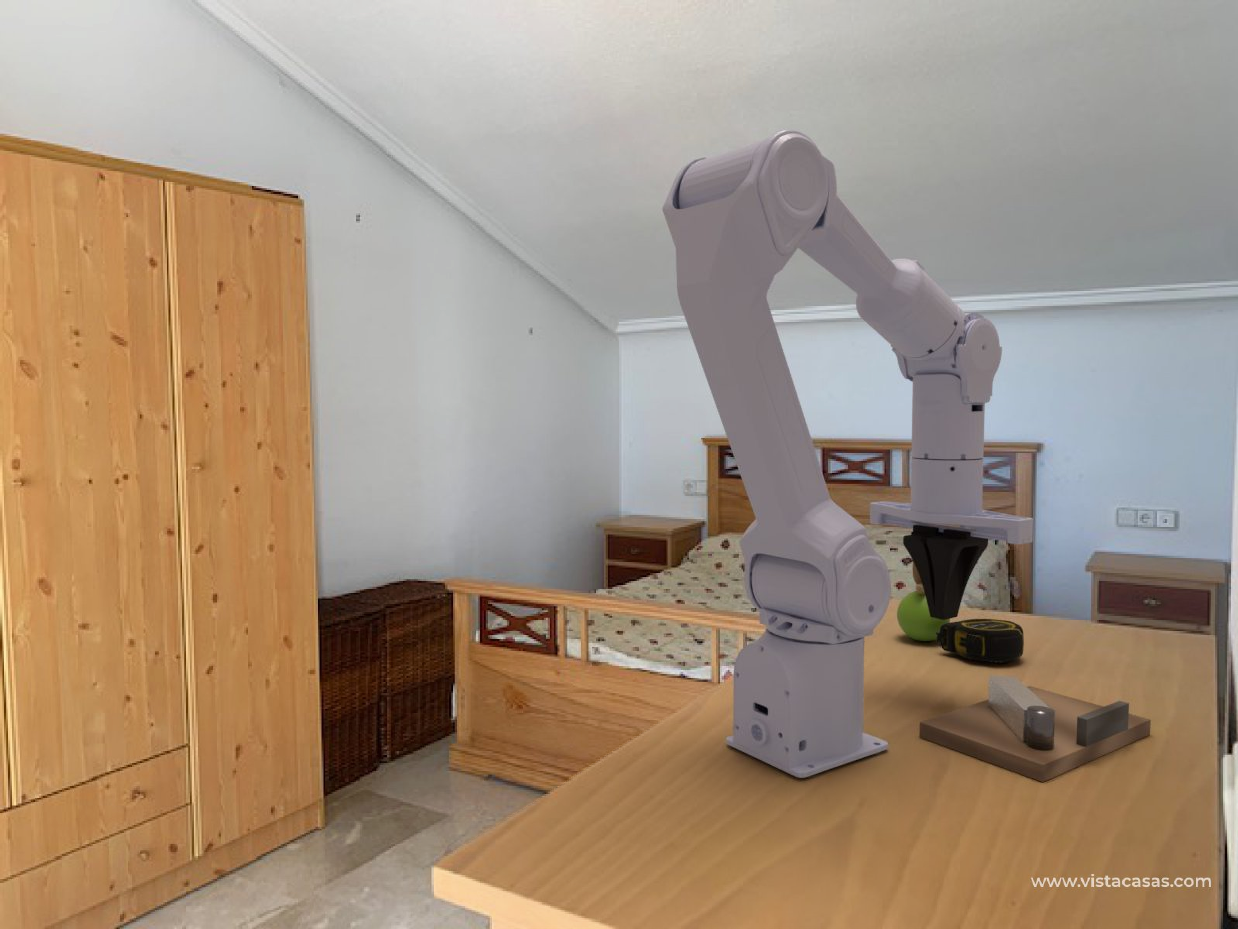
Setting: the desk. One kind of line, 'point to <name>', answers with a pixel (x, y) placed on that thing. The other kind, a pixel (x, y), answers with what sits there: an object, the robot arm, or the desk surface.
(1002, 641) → the tape measure
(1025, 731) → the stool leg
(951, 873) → the desk surface
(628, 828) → the desk surface
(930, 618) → the snail figurine
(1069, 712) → the walnut board
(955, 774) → the desk surface
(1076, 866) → the desk surface
